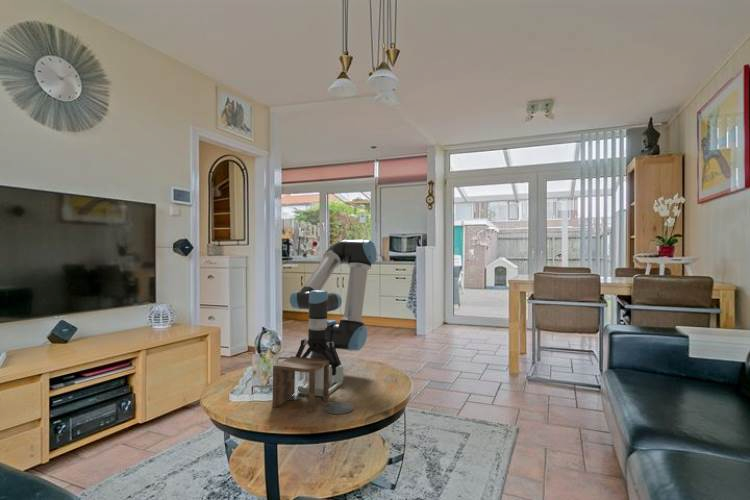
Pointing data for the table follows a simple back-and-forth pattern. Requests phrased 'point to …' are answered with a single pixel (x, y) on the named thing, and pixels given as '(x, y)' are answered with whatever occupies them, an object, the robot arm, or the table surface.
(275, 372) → the wooden step stool
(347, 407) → the coaster
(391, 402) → the table surface
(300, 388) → the grey blocky pieces
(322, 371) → the beverage can
